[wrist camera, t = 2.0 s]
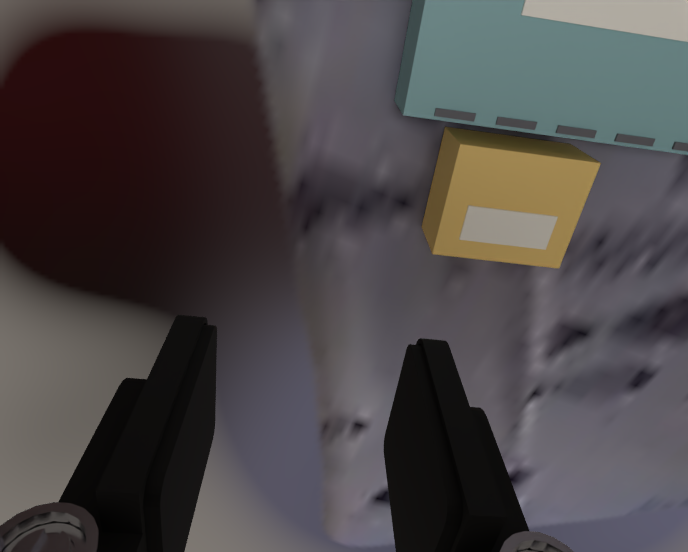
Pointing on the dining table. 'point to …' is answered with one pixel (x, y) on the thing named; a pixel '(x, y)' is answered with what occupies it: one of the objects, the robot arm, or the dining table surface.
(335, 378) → the dining table surface
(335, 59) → the dining table surface
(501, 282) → the dining table surface
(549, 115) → the teal labeled router
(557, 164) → the yellow labeled box
